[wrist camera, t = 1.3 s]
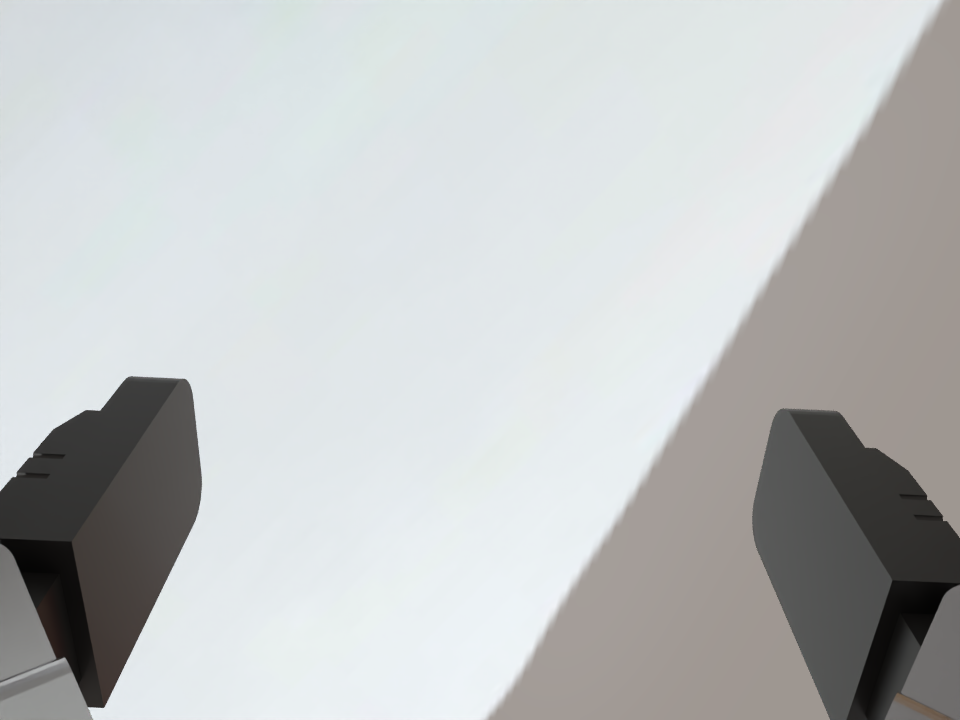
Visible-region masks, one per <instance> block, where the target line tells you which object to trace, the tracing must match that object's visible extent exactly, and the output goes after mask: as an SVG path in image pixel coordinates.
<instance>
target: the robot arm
mask: <svg viewBox="0 0 960 720" xmlns="http://www.w3.org/2000/svg"><path fill="white" fill-rule="evenodd" d="M201 489H202V477H201V467H200V457H199V448H198V439H197V430H196V421H195V411H194V402H193V395H192V390H191V387H190V384H189V382H188V381H187V380H186V379H175V378H154V377H133V376H131V377H128V378H126V379H125V380H124V382H123V383H122V384H121V385H120V387H119V388H118V389H117V390H116V392H115V393H114V394H113V395H112V397H111V398H110V399H109V401H108V402H107V403H106V404H105V406H104V407H103V408H102V409H101V411H93V410H86V411H84V412H82V413H80V414H79V415H77V416H75V417H74V418H72V419H70V420H69V421H67V422H65V423H64V424H62V425H60V426H58V427H57V428H55V429H53V430H52V432H51V433H50V434H49V435H48V436H47V437H46V439H45V440H44V441H43V442H42V443H41V444H40V446H39V447H38V448H37V449H36V450H35V451H34V453H33V458H28V460H27V461H26V462H25V463H24V464H23V466H22V467H21V468H20V469H19V470H18V471H17V476H16V477H12V478H11V480H10V481H9V482H8V483H7V484H6V485H5V487H4V488H3V489H2V490H1V491H0V720H93V719H92V716H91V714H90V712H89V709H88V707H96V708H104V707H105V705H106V703H107V701H108V699H109V697H110V695H111V693H112V691H113V689H114V687H115V685H116V683H117V680H118V678H119V676H120V674H121V672H122V670H123V668H124V666H125V664H126V662H127V660H128V658H129V656H130V654H131V652H132V650H133V648H134V646H135V644H136V641H137V639H138V637H139V635H140V633H141V631H142V629H143V627H144V625H145V623H146V621H147V619H148V617H149V615H150V613H151V611H152V609H153V607H154V605H155V602H156V600H157V598H158V596H159V594H160V592H161V590H162V588H163V586H164V584H165V582H166V580H167V578H168V576H169V574H170V572H171V570H172V568H173V566H174V563H175V561H176V559H177V557H178V555H179V553H180V551H181V549H182V547H183V545H184V543H185V541H186V539H187V537H188V535H189V533H190V531H191V529H192V527H193V524H194V522H195V520H196V517H197V514H198V510H199V505H200V499H201ZM752 521H753V522H752V524H753V535H754V540H755V544H756V548H757V550H758V553H759V555H760V557H761V560H762V562H763V564H764V567H765V569H766V571H767V573H768V576H769V578H770V580H771V583H772V585H773V587H774V590H775V592H776V594H777V597H778V599H779V601H780V604H781V606H782V608H783V611H784V613H785V615H786V618H787V620H788V622H789V625H790V627H791V629H792V632H793V634H794V636H795V639H796V641H797V643H798V646H799V648H800V650H801V652H802V655H803V657H804V659H805V662H806V664H807V667H808V669H809V671H810V674H811V676H812V678H813V680H814V683H815V685H816V687H817V690H818V692H819V694H820V697H821V699H822V701H823V703H824V706H825V708H826V711H827V713H828V715H829V718H830V720H960V538H959V536H958V535H957V534H956V533H955V531H954V530H953V529H952V527H951V526H950V525H949V523H948V522H947V521H943V516H942V514H941V513H940V512H939V510H938V509H937V508H936V507H935V505H934V504H933V502H932V501H931V500H927V495H926V493H925V492H924V491H923V489H922V488H921V487H920V486H919V484H918V483H917V482H916V480H915V479H914V478H913V476H912V475H911V474H910V472H909V471H908V470H906V469H905V468H904V467H902V466H901V465H899V464H898V463H896V462H895V461H893V460H892V459H891V458H889V457H888V456H886V455H885V454H884V453H882V452H881V451H879V450H878V449H876V448H865V447H864V445H863V444H862V443H861V441H860V440H859V438H858V437H857V436H856V434H855V433H854V431H853V430H852V429H851V427H850V426H849V425H848V423H847V422H846V420H845V419H844V417H843V416H842V415H841V414H840V413H839V412H837V411H825V410H804V409H780V410H779V411H778V412H777V413H776V415H775V417H774V419H773V422H772V426H771V430H770V434H769V438H768V443H767V447H766V451H765V456H764V460H763V465H762V469H761V473H760V478H759V482H758V487H757V491H756V495H755V500H754V505H753V516H752Z"/></svg>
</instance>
